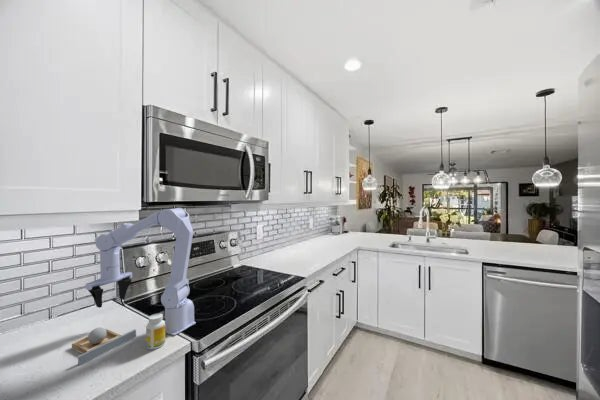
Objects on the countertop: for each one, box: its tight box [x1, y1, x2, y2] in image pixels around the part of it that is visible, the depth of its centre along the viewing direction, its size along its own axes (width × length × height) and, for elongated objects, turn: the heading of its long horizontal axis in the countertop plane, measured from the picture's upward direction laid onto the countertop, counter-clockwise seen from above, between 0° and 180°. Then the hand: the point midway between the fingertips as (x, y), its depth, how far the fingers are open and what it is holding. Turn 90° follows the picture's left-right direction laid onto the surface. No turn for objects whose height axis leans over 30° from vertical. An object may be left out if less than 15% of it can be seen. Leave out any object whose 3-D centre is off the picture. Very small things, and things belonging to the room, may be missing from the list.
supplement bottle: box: [145, 312, 166, 350], centre depth 82 cm, size 5×5×10 cm
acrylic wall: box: [77, 328, 137, 366], centre depth 80 cm, size 16×1×2 cm, turn 154°
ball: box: [87, 327, 107, 344], centre depth 83 cm, size 5×5×5 cm
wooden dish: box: [71, 328, 122, 354], centre depth 83 cm, size 10×10×2 cm
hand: (111, 302), depth 93 cm, fingers open, 7 cm apart
